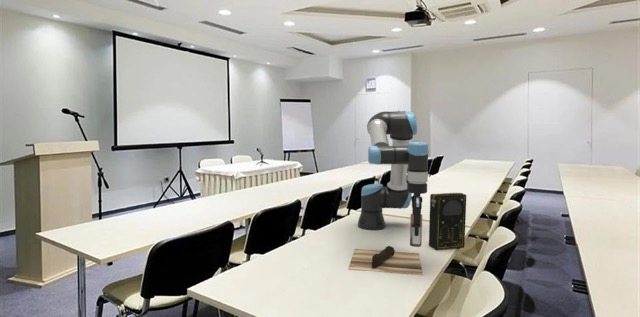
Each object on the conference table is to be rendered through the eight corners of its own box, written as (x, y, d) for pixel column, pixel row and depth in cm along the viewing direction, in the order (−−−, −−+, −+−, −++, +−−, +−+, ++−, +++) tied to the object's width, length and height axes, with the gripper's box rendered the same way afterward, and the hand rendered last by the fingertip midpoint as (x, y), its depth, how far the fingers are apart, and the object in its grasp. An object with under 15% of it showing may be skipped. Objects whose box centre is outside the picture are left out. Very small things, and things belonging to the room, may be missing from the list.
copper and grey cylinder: (409, 243, 146) (410, 213, 145) (421, 243, 145) (421, 213, 144) (410, 246, 142) (410, 215, 141) (421, 247, 141) (422, 216, 140)
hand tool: (386, 253, 159) (386, 243, 159) (394, 255, 157) (394, 245, 157) (365, 267, 144) (365, 256, 144) (375, 270, 142) (375, 258, 141)
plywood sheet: (354, 249, 166) (354, 248, 166) (418, 253, 160) (418, 253, 160) (348, 269, 142) (348, 268, 142) (422, 275, 137) (422, 274, 137)
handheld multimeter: (436, 251, 163) (438, 196, 161) (426, 245, 172) (427, 192, 169) (466, 248, 167) (468, 194, 165) (455, 242, 176) (456, 191, 174)
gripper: (406, 179, 151) (405, 234, 152) (408, 185, 133) (406, 248, 135) (425, 179, 149) (423, 235, 151) (429, 186, 132) (427, 249, 134)
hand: (415, 241), depth 143 cm, fingers closed on copper and grey cylinder, 4 cm apart
